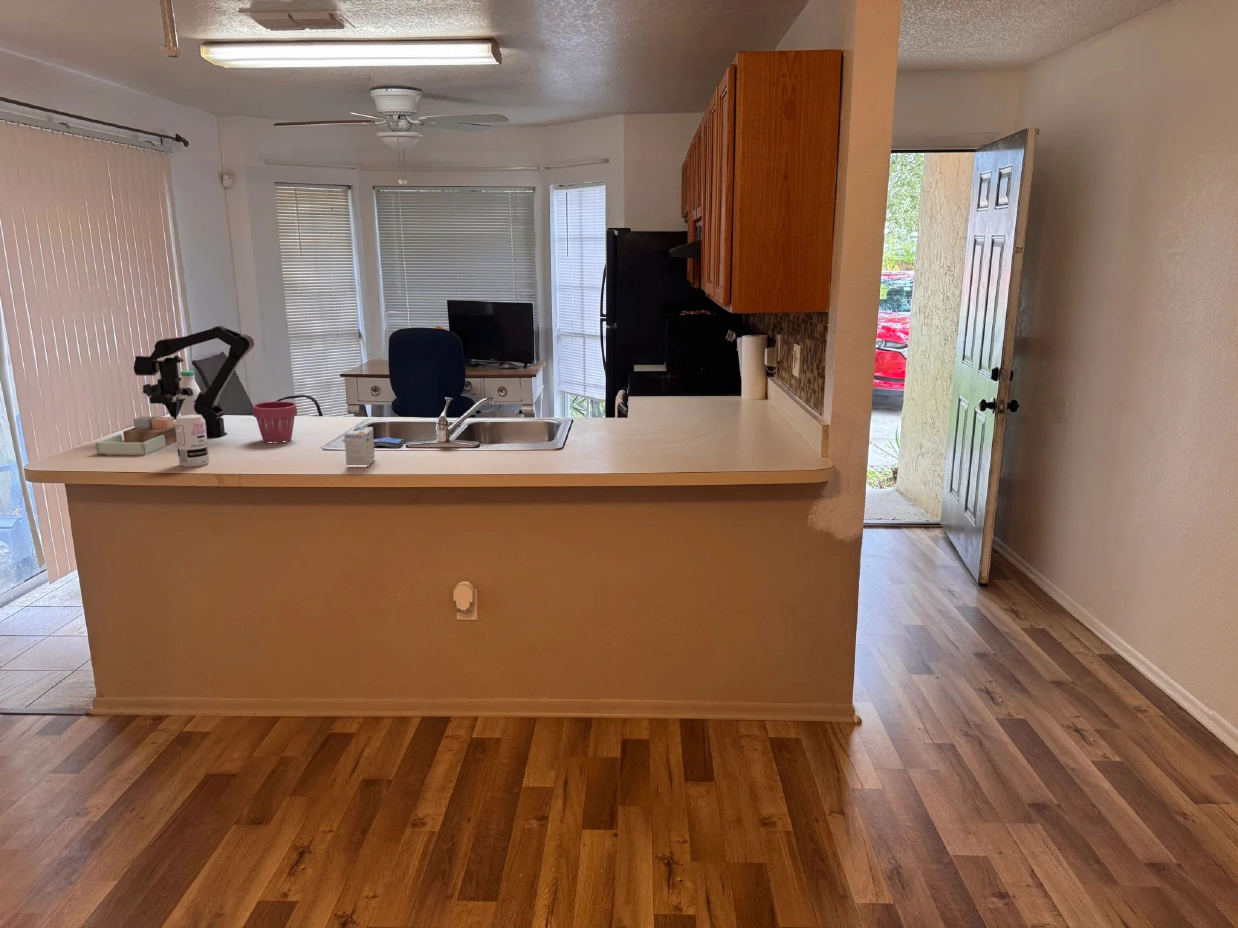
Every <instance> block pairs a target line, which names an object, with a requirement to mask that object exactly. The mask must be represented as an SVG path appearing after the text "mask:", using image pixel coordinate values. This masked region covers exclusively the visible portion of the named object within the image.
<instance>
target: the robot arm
mask: <svg viewBox="0 0 1238 928" xmlns="http://www.w3.org/2000/svg"><path fill="white" fill-rule="evenodd" d="M216 339H217V340H220V341H221V342H223V343H225V344H227V346H230V347H229V350H228V355H227V358H226V359H225V360H224V362H223V364H222V366H221V368H220V369H219V371H218V372H217V374H216V376H215V378H214V379H213V381H212V382H211V384H210V385H209V386H208V387H209V388H208V389H207V390H206V389H204V390H202V391H201V392H199V394H198V397H197V399H196V400H195V401H194V403H195V404H194V410H195V412H196V413H197V414H198V415H202V417H203V418H204V420H205V425H206V435H207V438H221V437H223V436H226V435H227V434H228V432H225V421H224V417H223V416H224V414H225V410H224V409H222V407H220V406H219V405H218V404H219V401H220V397H221V394H222V393H223V390H224V388H225V387H226V385H227V383H228V382H229V380H230V378H231V377H232V375H233V374H234V372H235V370H236V369H237V367H238V366H239V363H240V362H241V361H242V360H243V359H244V357H246V356H247V355H248V354H249V353H250V352H251V350H253V348H254V347H255V341H254V339H253V337H252V336H251V335H248V334H242V333H239V332H238V331H234V330H231V329H229V328H227V327H225V326H223V325H217V326H214V327H212V328H210V329H206V330H202V331H199V332H195V333H191V334H189V335H184V336H176V337H169V338H162V339H161V340H160V339H159V340H158V341H156V342H155V344H154V350H153V352H152V353H151V354H150V355H146V356H144V355H136V356H135V357H134V358H135V360H134V364H133V372H134V374H135V375H136V377H138V376H140V377H141V376H142V377H143V376H145V377H148V376H150V377H152V376H153V377H154V376H156V375H157V373H159V376H160V378H157V383H155V384H151V383H146V384H144V385H142V394H145V395H146V396H147V398H149V404H153V405H155V404H159V405H160V404H162V405H163V406H165V407H166V409H167V411H168V413H169V415H170V416H169V417H174V421H175V420H176V417H177V416H180V415H179V414H180V409H181V407H182V405H183V403H184V401H185V399H181V397H180V396H181V395H188V396H192V395H193V390H192V389H191V388H180V386H181V383H180V382H182V377H180V374H179V373H180V372H179V365H178V364H180V363H184V361H185V360H184V358H182V357H180V355H176V353H179V352H182V350H185V349H187V348H189V347H192V346H195V345H198V344H199V345H200V344H201V343H205V342H209V341H212V340H216ZM172 355H173V356H174V357H169V356H172ZM163 358H164V359H163ZM160 359H163V360H160Z"/></svg>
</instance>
